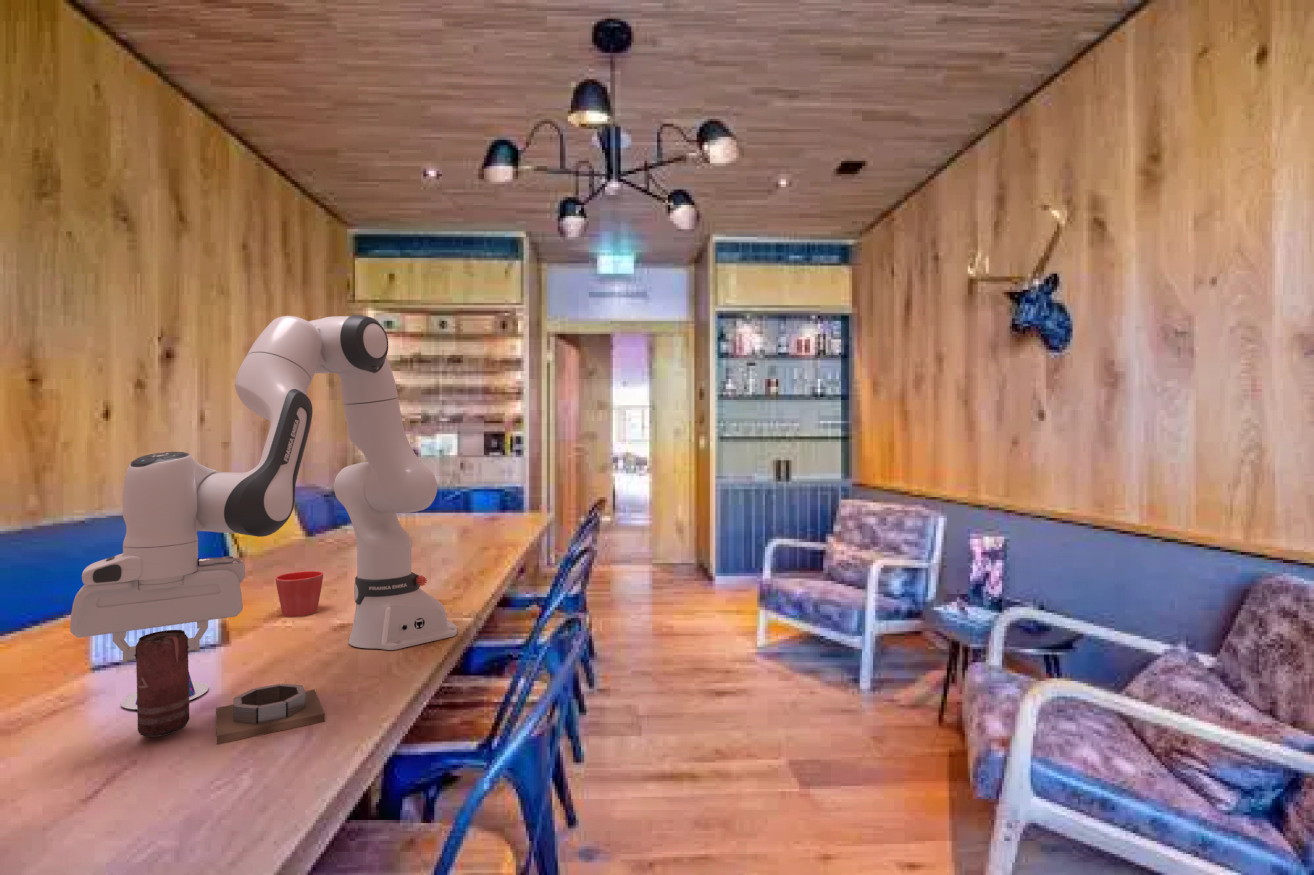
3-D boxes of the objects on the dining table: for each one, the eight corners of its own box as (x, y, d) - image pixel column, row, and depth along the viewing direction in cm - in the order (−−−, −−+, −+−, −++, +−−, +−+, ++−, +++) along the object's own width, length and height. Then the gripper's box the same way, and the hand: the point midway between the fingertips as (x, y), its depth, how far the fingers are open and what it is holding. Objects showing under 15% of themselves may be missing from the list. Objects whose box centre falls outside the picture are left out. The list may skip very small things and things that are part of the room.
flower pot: (264, 618, 161) (264, 578, 161) (296, 607, 172) (296, 570, 172) (303, 620, 160) (303, 580, 160) (332, 608, 170) (332, 571, 170)
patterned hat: (115, 720, 103) (115, 686, 103) (125, 695, 113) (125, 664, 113) (207, 703, 110) (208, 672, 110) (209, 681, 120) (209, 652, 120)
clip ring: (300, 694, 110) (300, 680, 110) (307, 714, 102) (307, 698, 102) (232, 707, 104) (232, 692, 104) (234, 729, 96) (234, 712, 96)
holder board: (314, 696, 112) (314, 689, 112) (324, 721, 102) (324, 713, 102) (215, 715, 104) (215, 707, 104) (216, 744, 94) (216, 736, 94)
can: (163, 739, 93) (161, 642, 93) (127, 736, 95) (125, 639, 95) (201, 721, 99) (199, 629, 99) (166, 718, 101) (164, 627, 100)
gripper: (243, 551, 105) (244, 637, 105) (74, 566, 94) (75, 663, 94) (245, 557, 100) (246, 648, 100) (67, 574, 88) (68, 676, 89)
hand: (162, 655), depth 97 cm, fingers closed on can, 6 cm apart
